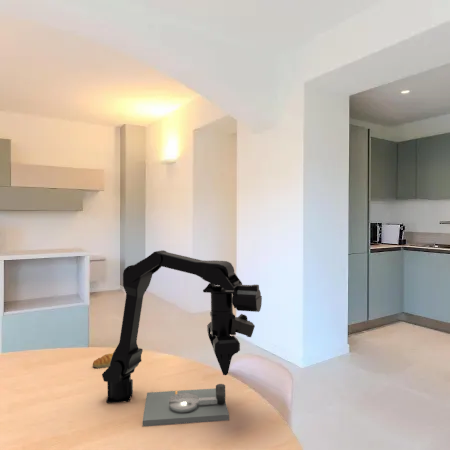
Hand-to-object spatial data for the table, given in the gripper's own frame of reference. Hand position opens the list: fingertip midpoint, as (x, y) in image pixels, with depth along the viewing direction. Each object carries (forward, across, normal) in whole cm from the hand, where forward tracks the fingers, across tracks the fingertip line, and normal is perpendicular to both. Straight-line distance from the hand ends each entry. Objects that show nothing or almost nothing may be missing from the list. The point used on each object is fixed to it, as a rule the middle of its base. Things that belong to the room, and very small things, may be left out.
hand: (222, 368), depth 104 cm
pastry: (+13, +43, +36) cm, 57 cm away
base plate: (+12, +5, +10) cm, 17 cm away
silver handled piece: (+11, +3, +7) cm, 13 cm away
